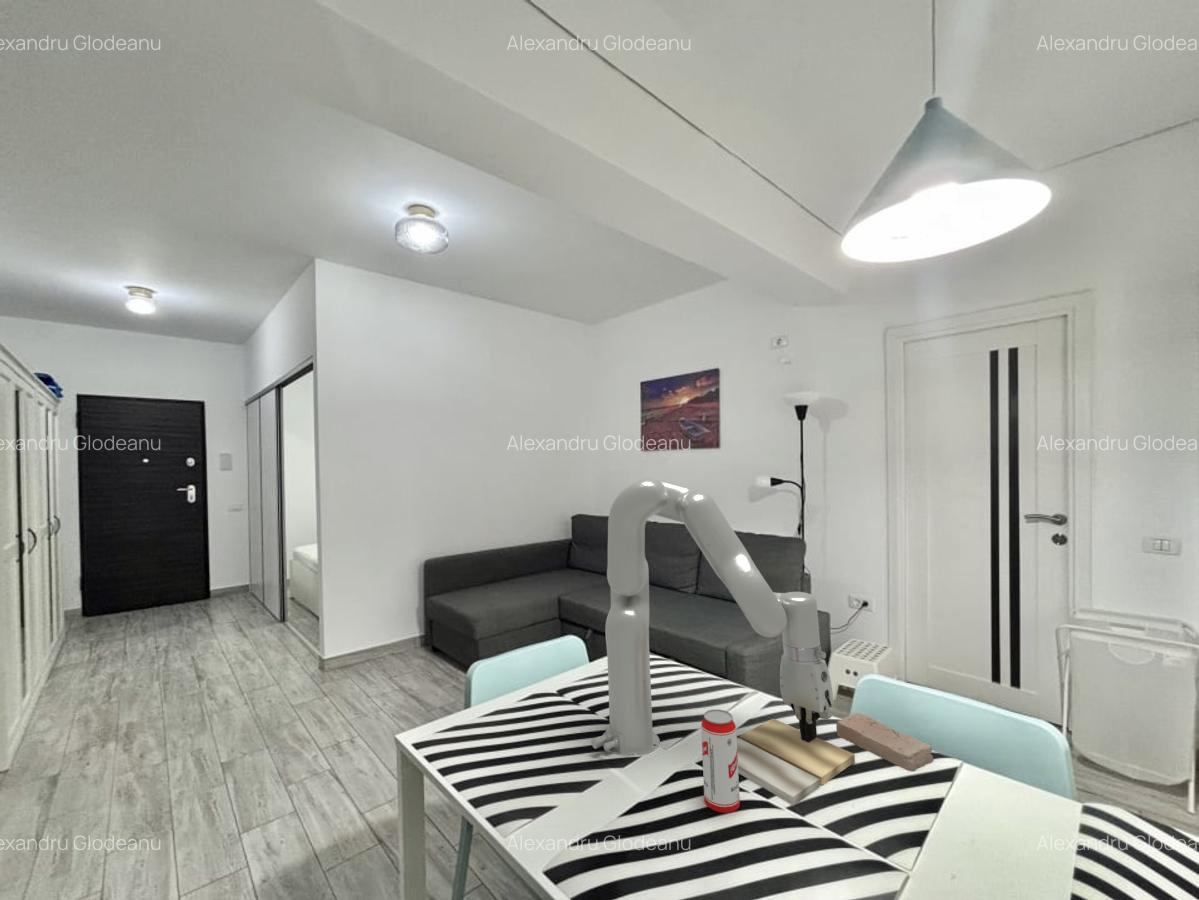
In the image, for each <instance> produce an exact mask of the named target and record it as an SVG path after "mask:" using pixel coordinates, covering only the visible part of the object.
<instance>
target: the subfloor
mask: <svg viewBox="0 0 1199 900" xmlns="http://www.w3.org/2000/svg"><path fill="white" fill-rule="evenodd" d="M737 754H738V775H741V776H743V777H744V778H746V779H748V781H751V782H753V783H755V784H756V785H757V786H760V787H762V788H763V789H765V790H766V791H768V792H770V793H772V794H773V795H775V796H777V797H778V798H780V799H782V800H783V801H785V802H787V803H788V804H791V805H792V806H796V804H798V803H799V802H800V801H802V800H803V799H805V798H807V797H808V796H809V795H811V794H812V793H814V792H816V790H818V789H819V788H820V781H819V779H818V778H816V777H814V776H812V775H810V774H808V773H806V772H804V771H802V770H800V769H798V768H796V767H795V766H793V765H791V764H789V763H787V762H785V761H783V760H781V759H779V758H777V757H775V756H773V755H771V754H769V753H767V752H765V751H763V750H761V749H759V748H757V747H755V746H754V745H752V744H750V743H748V742H746V741H744V740H742V739H740V737H737Z"/></svg>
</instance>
